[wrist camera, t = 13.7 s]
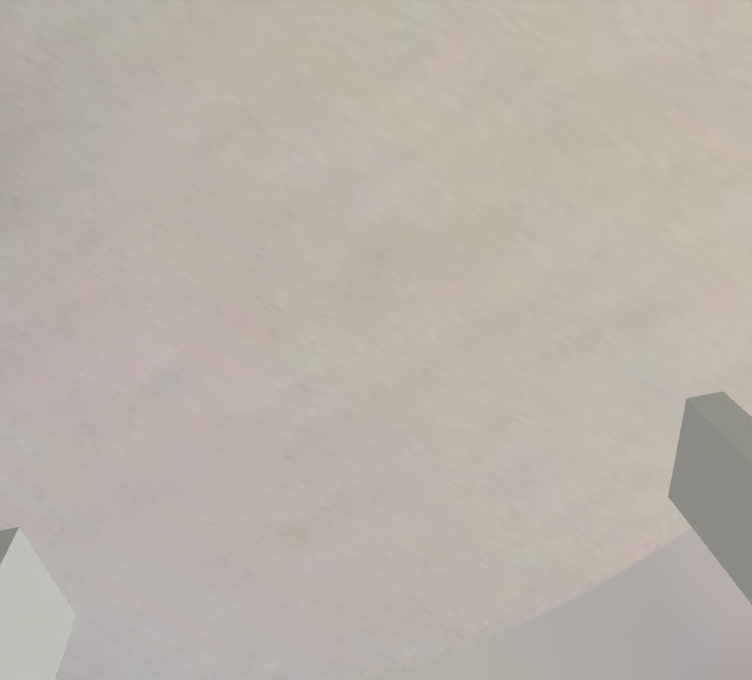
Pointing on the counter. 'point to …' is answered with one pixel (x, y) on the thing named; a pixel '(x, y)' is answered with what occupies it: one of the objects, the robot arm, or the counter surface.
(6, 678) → the robot arm
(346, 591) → the counter surface
